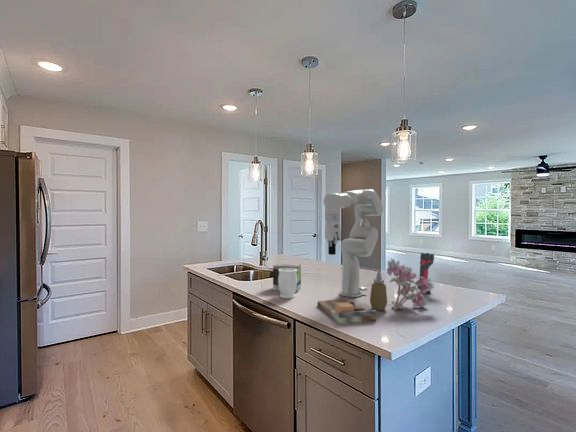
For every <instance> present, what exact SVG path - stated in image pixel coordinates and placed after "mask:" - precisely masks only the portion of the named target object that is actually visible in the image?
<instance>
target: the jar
mask: <svg viewBox="0 0 576 432" xmlns="http://www.w3.org/2000/svg"><path fill="white" fill-rule="evenodd" d="M278 271H279V276H278V284H279V290H280V291H279V290H278V291H279V293H280V294H279V297H280V298H282V299H294V298H295V297H296V294H295V293H296V292H295V291H296V286H297V274H296V272H297V269H295V268H280V269H278Z"/></svg>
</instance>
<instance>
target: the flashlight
mask: <svg viewBox="0 0 576 432" xmlns="http://www.w3.org/2000/svg"><path fill="white" fill-rule="evenodd" d="M419 258H420V260H419V265H420V266H419V277H424V278H425V280H427V279H429V269H430V267H431V266H432V265H433V264H434V261H435V255H434V253H429V252H425V253H424V252H421V253H420V257H419ZM419 280H420V281H422V280H421V279H420V278H419ZM417 288H418V289H421V288H422V287H420V286H417ZM431 291H432V290H431ZM431 291H427V292H426V293H425V294H430V293H429V292H431Z"/></svg>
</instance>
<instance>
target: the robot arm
mask: <svg viewBox="0 0 576 432" xmlns="http://www.w3.org/2000/svg"><path fill="white" fill-rule="evenodd" d="M323 205H324V221H325V226H324V227H325V228H324V238H325V240H326V242H327V246H328V248H327V249H328V252H327V253H328V255H331V256H333V255H336V247H337V244H338V242H340V241H341V240H342V239H341V238H342V237H341V236H342V233H341V231H342V230H341V209H347V208H349V207H354V209H353V210H354V217H355V218H354V219H355V222H354V225H353V226H352V228H351V230H350V233H349V238H344V239H343V240H342V241H341V243H340V250H341V258H342V260H341V261H342V266H341V268H342V269H341V271H342V272H341V274H342V276H341V281H342V282H341V290H339V291H338V292H339V293H338V294H339V295H340V296H343V297H347V298H359V297H362V295H363V293H362V292H367V291H368V288H367V286H365V287H363V286H360V266H361V265H360V261H359V259H358V257H363V258H365V257H366V258H367V257H370V256H371V255H372V253H373V251H374V249H375V247H376V246H377V241H378V238H379V231H378V229H377V228H376V227H375V226H370V221H369V220H368V218H367V217H378V216H381V215H382V214H383V212H384V206H383V203H382V201H381V199H380V196H379V195H378V193H377V192H376V190H374V189H357V190H356V189H355V190H348V191H342V192H333V193H332V192H331V193H326V195H324V198H323ZM366 216H367V217H366Z"/></svg>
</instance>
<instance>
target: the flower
mask: <svg viewBox="0 0 576 432" xmlns="http://www.w3.org/2000/svg"><path fill="white" fill-rule="evenodd" d="M386 271H387V272H386V273H387V275H389V276H390V277H391V276H392V274H393V275H394V277H391V278H390V279H389V284H391V282H392V283H393V282H395V283H396V284H395V286H398V289H397V292H396V294H397V298H396V301H394V300H391V306H392V307H393V309H392V311H396V310H397V309H401V310H403V308H404V305H403V304H405V303H406V302H407V300H410V301H411V302H412V303H413V304H412V305H413V306H414V307H417V308H418V307H421V308H422V309H424V308H425V307H426V306H428V299H426V298H425V296H424V294H427V293H426V292H427V291H432V290H433V289H435V287H434V286H435V284H434V282H433V281H431V280H432V279H431V278H428V279H427V280H425V278H424V277H420V276H419V277H418V279H417V280H416V281H414V279H415V278H417V274H416V272H412V271H413V269H412V268H411V266H407V267H406V265H405V264H403V265H400V260H399V259H398V260H397V261H396V260H395V258H392V257H391V258H390V259H389V260H388V261H387V268H386ZM420 279H421V280H422V281H420ZM412 284H414V285H412ZM418 286H420V287H422V288H421V289H418ZM401 287H402V288H401ZM415 291H416V292H417V293H415ZM410 292H411V293H410ZM409 293H410V294H409ZM400 295H401V296H403V297H402V298H401V299H400Z"/></svg>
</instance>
